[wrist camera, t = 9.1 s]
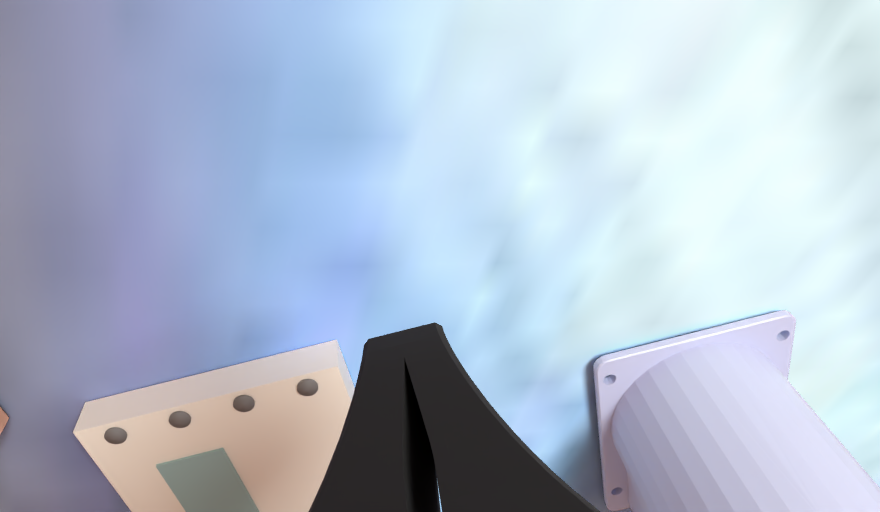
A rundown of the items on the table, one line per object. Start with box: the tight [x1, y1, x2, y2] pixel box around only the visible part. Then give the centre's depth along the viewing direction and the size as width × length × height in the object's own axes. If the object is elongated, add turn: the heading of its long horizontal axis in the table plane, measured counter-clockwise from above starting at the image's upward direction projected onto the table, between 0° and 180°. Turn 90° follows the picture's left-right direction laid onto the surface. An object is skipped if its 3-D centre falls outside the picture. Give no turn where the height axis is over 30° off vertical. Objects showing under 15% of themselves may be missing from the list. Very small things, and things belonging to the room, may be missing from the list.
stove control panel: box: [73, 340, 355, 512], centre depth 25 cm, size 12×9×3 cm
